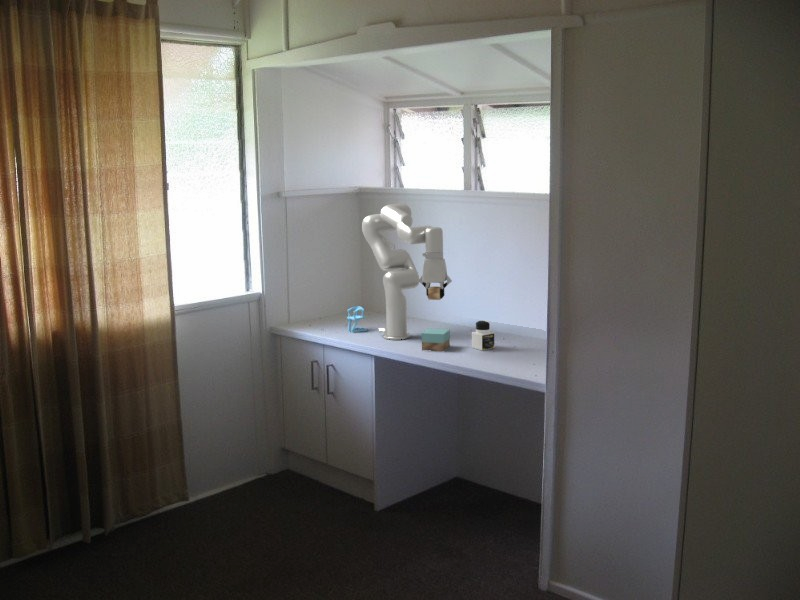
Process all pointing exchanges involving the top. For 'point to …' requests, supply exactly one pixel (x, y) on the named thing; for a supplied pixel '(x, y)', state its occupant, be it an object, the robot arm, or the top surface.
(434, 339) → the teal slab
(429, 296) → the oak block
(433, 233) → the robot arm
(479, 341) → the medicine bottle
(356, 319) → the chair
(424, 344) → the walnut slab
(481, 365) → the top surface
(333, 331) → the top surface
